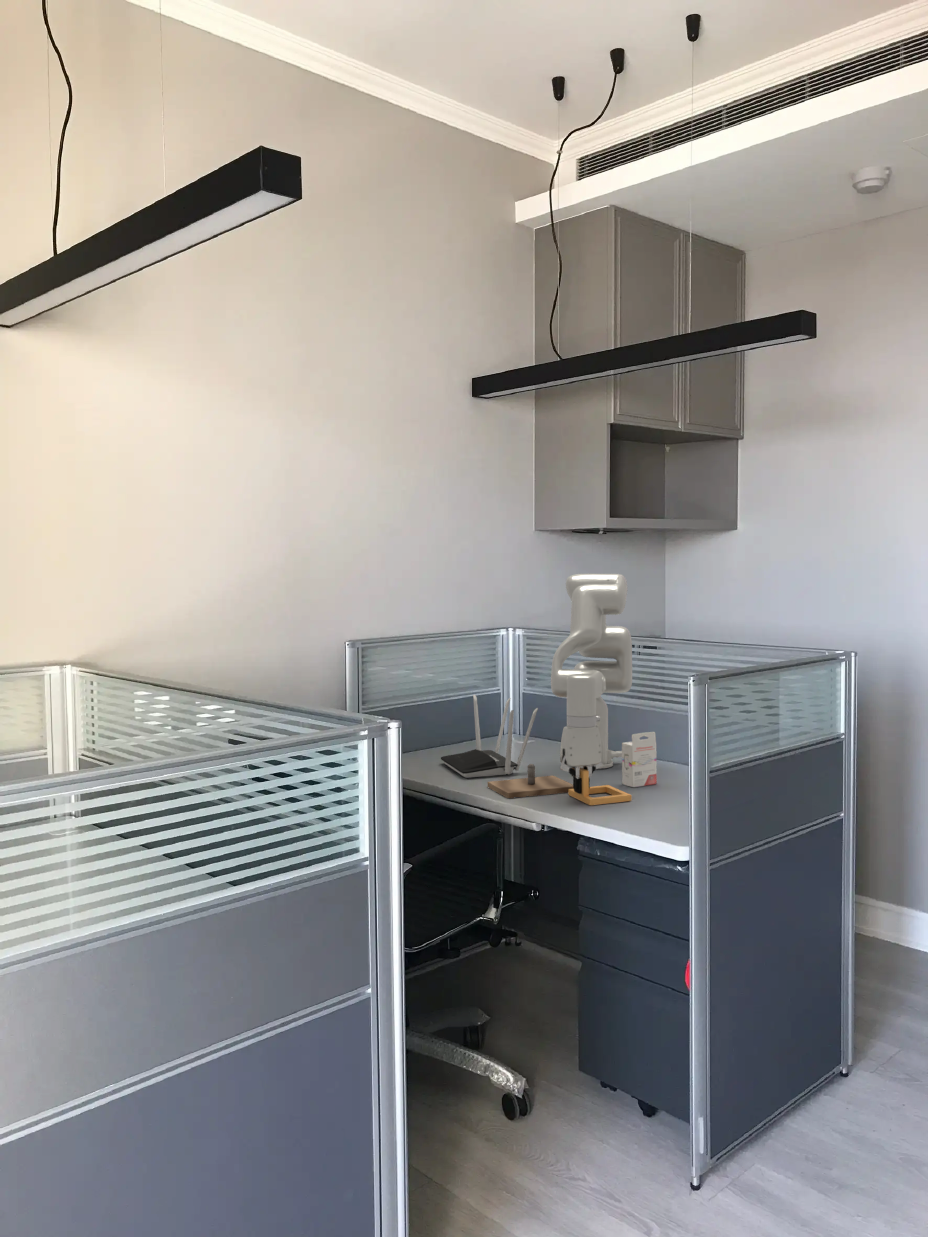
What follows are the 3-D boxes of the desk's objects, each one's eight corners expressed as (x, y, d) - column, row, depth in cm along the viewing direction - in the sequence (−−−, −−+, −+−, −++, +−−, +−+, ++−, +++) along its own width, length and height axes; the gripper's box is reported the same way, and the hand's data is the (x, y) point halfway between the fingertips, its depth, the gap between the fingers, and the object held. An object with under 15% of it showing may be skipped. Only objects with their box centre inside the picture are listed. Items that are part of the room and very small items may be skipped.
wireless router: (434, 760, 306) (434, 696, 305) (504, 755, 314) (503, 693, 312) (469, 784, 274) (468, 712, 273) (545, 777, 282) (545, 708, 280)
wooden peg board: (553, 780, 277) (553, 756, 277) (576, 791, 264) (576, 765, 264) (487, 787, 270) (487, 762, 270) (508, 798, 257) (507, 772, 257)
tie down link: (608, 790, 265) (608, 761, 264) (631, 800, 253) (631, 770, 253) (568, 794, 260) (568, 765, 260) (590, 805, 249) (590, 774, 249)
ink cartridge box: (645, 780, 277) (646, 728, 276) (657, 784, 272) (657, 731, 271) (621, 784, 273) (621, 731, 272) (632, 787, 268) (632, 734, 267)
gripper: (600, 717, 260) (600, 786, 261) (547, 721, 254) (547, 791, 255) (615, 721, 253) (615, 792, 254) (560, 726, 247) (561, 798, 248)
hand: (581, 791), depth 255 cm, fingers closed on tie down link, 1 cm apart
